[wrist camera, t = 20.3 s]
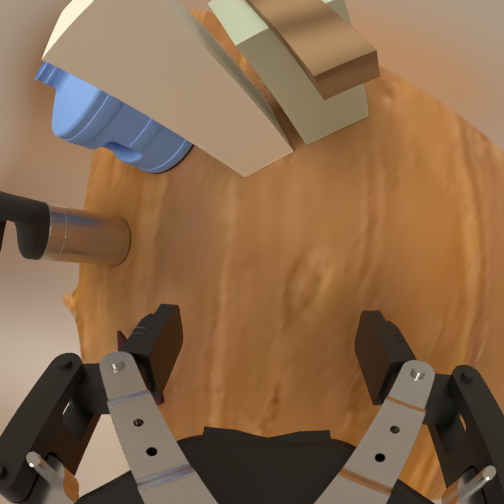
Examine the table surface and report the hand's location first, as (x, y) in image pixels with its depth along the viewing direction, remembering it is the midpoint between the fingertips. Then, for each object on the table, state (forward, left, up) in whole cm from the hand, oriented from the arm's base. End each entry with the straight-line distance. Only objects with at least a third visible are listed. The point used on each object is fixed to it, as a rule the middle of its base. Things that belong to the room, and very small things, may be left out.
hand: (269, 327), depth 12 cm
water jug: (-37, +17, -24) cm, 47 cm away
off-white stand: (-18, +18, -24) cm, 35 cm away
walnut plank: (-7, +22, -3) cm, 24 cm away
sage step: (-9, +25, -24) cm, 36 cm away
